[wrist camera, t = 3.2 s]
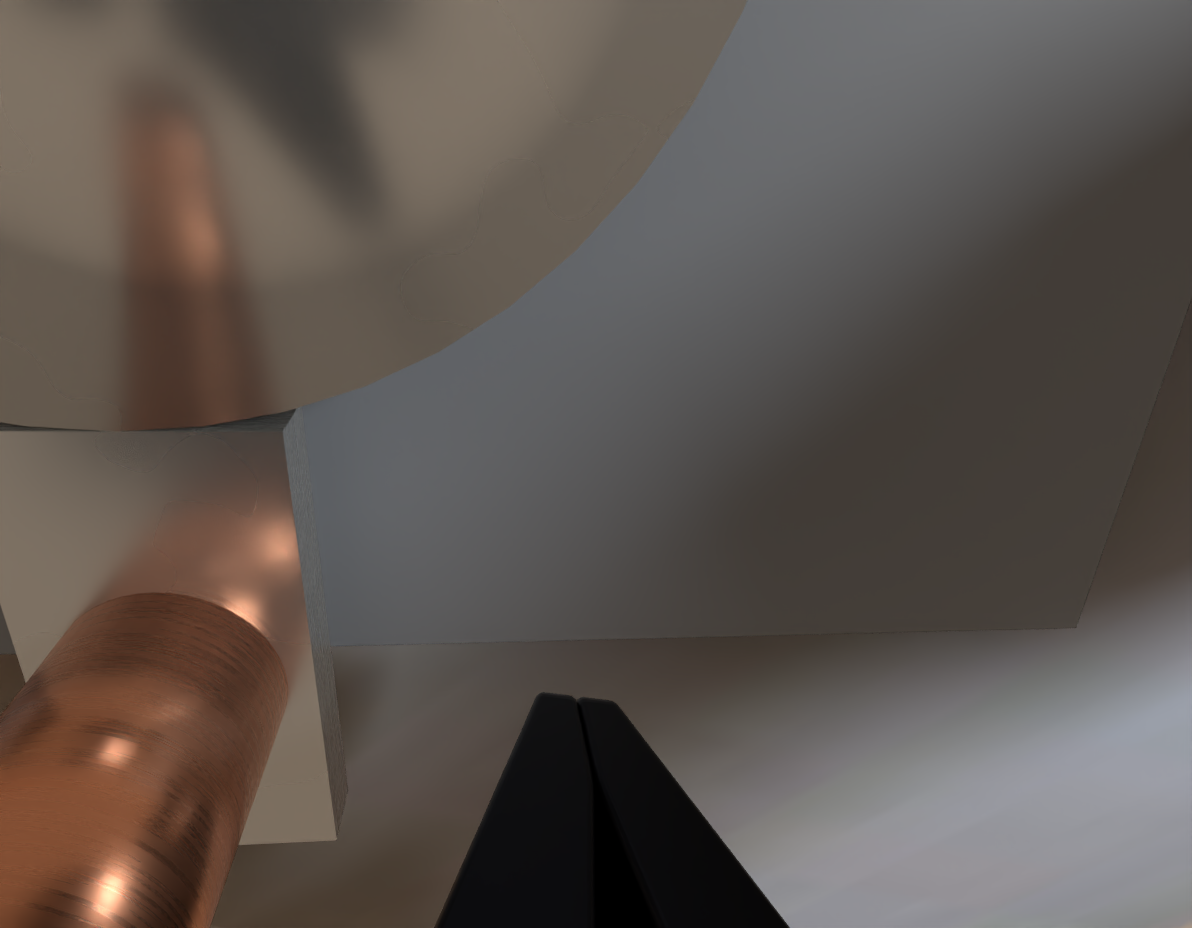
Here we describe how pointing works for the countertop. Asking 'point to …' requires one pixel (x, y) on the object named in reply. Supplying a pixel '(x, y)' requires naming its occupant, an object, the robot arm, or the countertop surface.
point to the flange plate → (248, 372)
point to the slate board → (804, 352)
